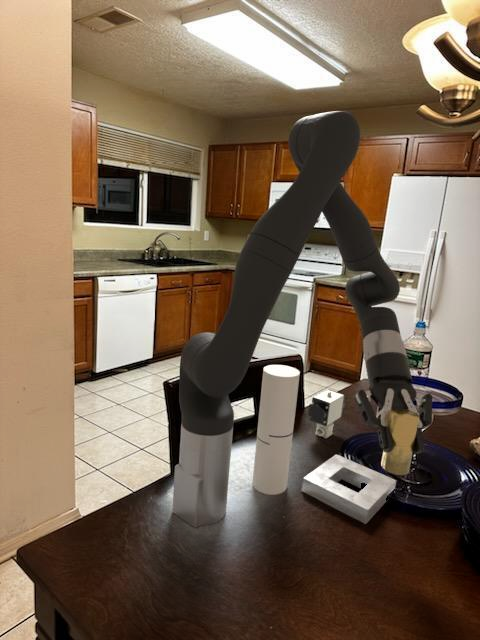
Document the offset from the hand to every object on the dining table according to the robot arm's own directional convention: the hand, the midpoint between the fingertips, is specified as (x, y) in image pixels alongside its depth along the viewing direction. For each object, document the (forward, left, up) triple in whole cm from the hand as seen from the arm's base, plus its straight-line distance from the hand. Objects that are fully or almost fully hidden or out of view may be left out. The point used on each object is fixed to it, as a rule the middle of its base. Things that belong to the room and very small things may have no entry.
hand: (403, 451), depth 73 cm
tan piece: (+1, +1, -4) cm, 5 cm away
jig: (+9, +12, -18) cm, 23 cm away
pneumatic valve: (+28, +29, -18) cm, 44 cm away
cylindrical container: (-1, +25, -18) cm, 31 cm away
